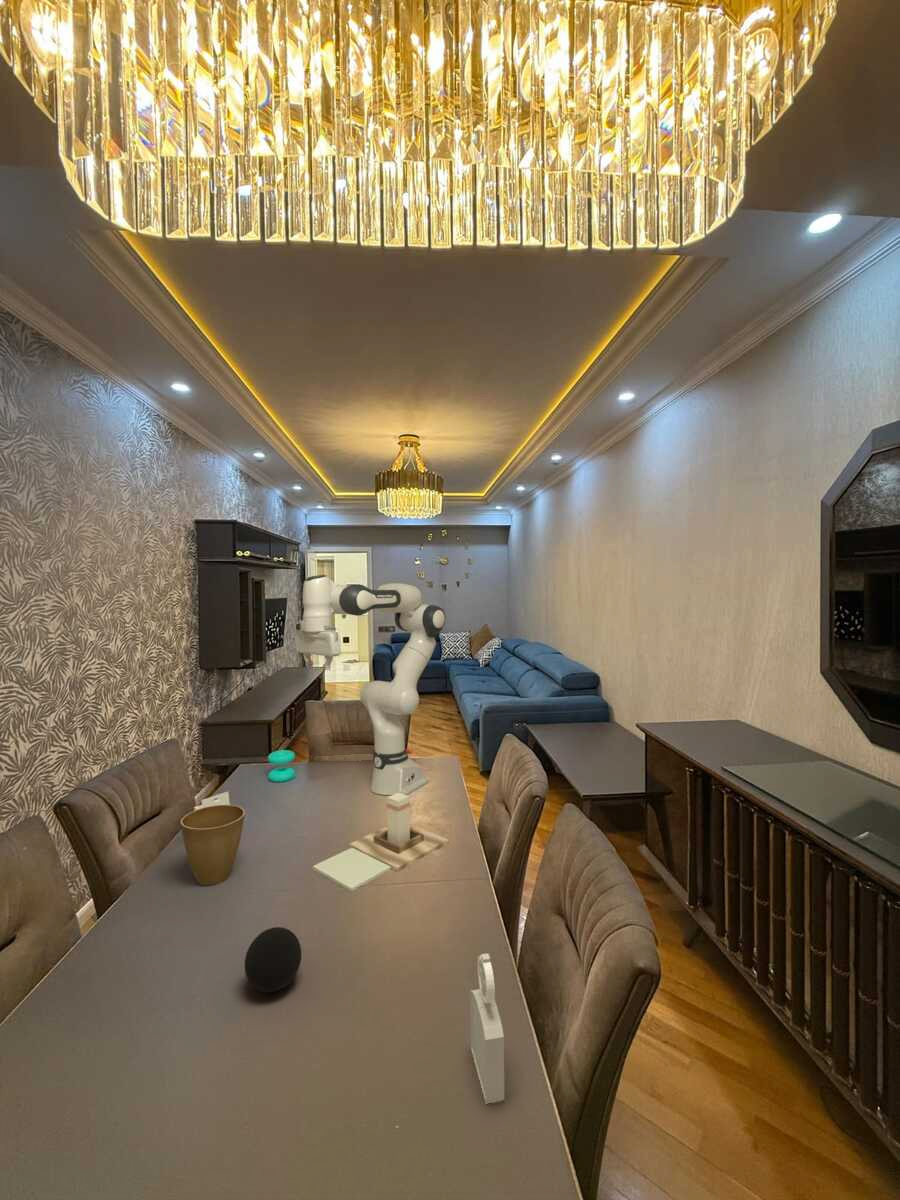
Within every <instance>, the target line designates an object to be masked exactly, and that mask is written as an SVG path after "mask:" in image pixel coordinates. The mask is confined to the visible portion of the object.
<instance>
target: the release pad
mask: <svg viewBox="0 0 900 1200" xmlns="http://www.w3.org/2000/svg"><path fill="white" fill-rule="evenodd" d="M312 870H314V871H315V872H317V873H318V874H319V875H321V876H323V877H325V878H327V879H329V880H330V881H332V882H333V883H336V884H337V885H339V886H340V887H343V888H344V889H346V890H347V891H349V890H350V892H351V891H352V892H354V891H355V890H357V889H359V888H361V887H363V886H364V885H366V884H368V883H370V882H371V881H373V880H376V879H377V878H378V877H381V876H382V875H384V874H386V873H388V872H390V871H391V870H392V869H391V867H390V866H388V865H386V864H384V863H382V862H380V861H378V860H376V859H374V858H372V857H370V856H368V855H366V854H364V853H362V852H360V851H358V850H356V849H354V848H349V849H348V848H347V849H346V850H344V851H342V852H339V853H337V854H335V855H333V856H331V857H329V858H327V859H324V860H323V861H321V862H318V863H316V864H315V865H312ZM362 885H363V886H362ZM360 886H361V887H360ZM358 887H359V888H358ZM353 890H354V891H353Z"/></svg>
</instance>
